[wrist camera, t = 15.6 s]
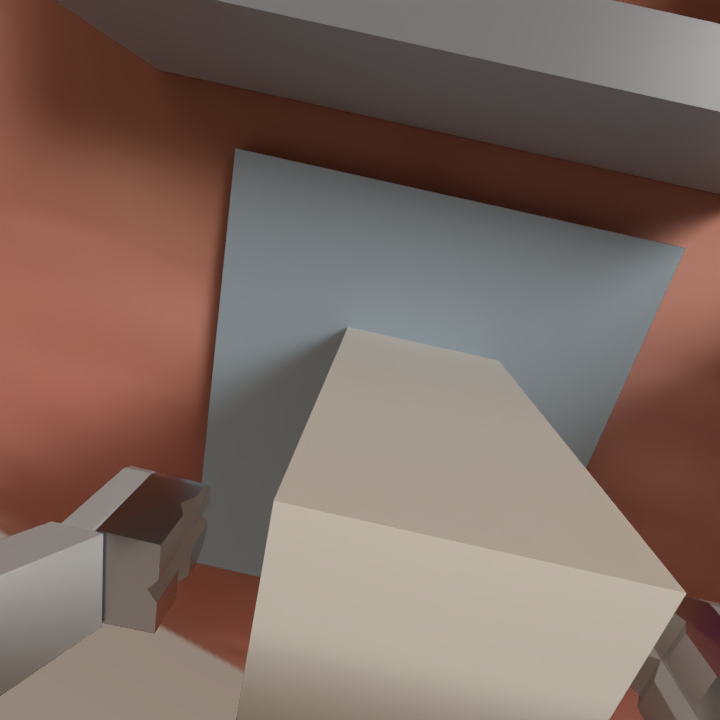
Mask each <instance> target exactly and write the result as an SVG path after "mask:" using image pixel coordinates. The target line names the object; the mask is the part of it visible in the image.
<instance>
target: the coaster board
mask: <svg viewBox="0 0 720 720" xmlns="http://www.w3.org/2000/svg"><path fill="white" fill-rule="evenodd" d="M684 251H685V248H683V247H678V246H674V245H669V244H664V243H660V242H655V241H651V240H646V239H642V238H637V237H633V236H628V235H624V234H619V233H615V232H610V231H606V230H601V229H597V228H592V227H588V226H583V225H579V224H574V223H570V222H565V221H561V220H556V219H552V218H547V217H543V216H538V215H534V214H529V213H525V212H520V211H516V210H511V209H507V208H502V207H498V206H493V205H489V204H484V203H480V202H475V201H471V200H466V199H462V198H457V197H453V196H448V195H444V194H439V193H435V192H430V191H426V190H421V189H417V188H412V187H408V186H403V185H399V184H394V183H390V182H385V181H381V180H376V179H372V178H367V177H363V176H358V175H354V174H349V173H345V172H340V171H336V170H331V169H327V168H322V167H318V166H313V165H309V164H304V163H300V162H295V161H291V160H286V159H282V158H277V157H273V156H268V155H264V154H259V153H255V152H250V151H246V150H241V149H237V148H235V156H234V166H233V176H232V186H231V196H230V206H229V216H228V226H227V236H226V245H225V255H224V265H223V275H222V285H221V295H220V305H219V315H218V325H217V334H216V344H215V354H214V364H213V374H212V384H211V394H210V404H209V413H208V423H207V433H206V443H205V453H204V463H203V473H202V483H203V484H207V485H209V487H210V488H211V493H210V504H209V505H208V507H207V508H206V510H205V511H204V513H203V514H202V515H203V516H204V518H205V520H206V521H207V530H206V536H205V540H204V544H203V547H202V550H201V552H200V555H199V557H198V560H197V562H196V563H200V564H204V565H208V566H213V567H217V568H222V569H226V570H231V571H235V572H240V573H244V574H248V575H253V576H257V577H261V572H262V566H263V560H264V554H265V548H266V543H267V537H268V531H269V525H270V519H271V513H272V507H273V502H274V499H275V496H276V494H277V492H278V489H279V487H280V485H281V482H282V480H283V478H284V475H285V473H286V471H287V468H288V466H289V464H290V461H291V459H292V457H293V454H294V452H295V450H296V447H297V445H298V443H299V440H300V438H301V436H302V433H303V431H304V429H305V426H306V424H307V422H308V419H309V417H310V415H311V412H312V410H313V408H314V405H315V403H316V401H317V398H318V396H319V394H320V391H321V389H322V387H323V384H324V382H325V379H326V377H327V375H328V372H329V370H330V368H331V365H332V363H333V361H334V358H335V356H336V354H337V351H338V349H339V347H340V344H341V342H342V340H343V337H344V335H345V333H346V330H347V328H348V327H350V328H355V329H359V330H364V331H368V332H373V333H377V334H382V335H386V336H391V337H395V338H400V339H404V340H409V341H413V342H418V343H422V344H427V345H431V346H436V347H440V348H444V349H449V350H453V351H458V352H462V353H467V354H471V355H476V356H480V357H485V358H489V359H494V360H498V361H500V363H501V364H502V365H503V366H504V368H505V369H506V370H507V371H508V373H509V374H510V375H511V376H512V378H513V379H514V380H515V381H516V383H517V384H518V385H519V386H520V387H521V389H522V390H523V391H524V392H525V394H526V395H527V396H528V397H529V399H530V400H531V401H532V402H533V404H534V405H535V406H536V407H537V409H538V410H539V411H540V412H541V413H542V415H543V416H544V417H545V418H546V420H547V421H548V422H549V423H550V425H551V426H552V427H553V428H554V430H555V431H556V432H557V433H558V435H559V436H560V437H561V438H562V440H563V441H564V442H565V443H566V444H567V446H568V447H569V448H570V449H571V451H572V452H573V453H574V454H575V456H576V457H577V458H578V459H579V461H580V462H581V463H582V464H583V466H584V467H585V468H587V466H588V463H589V461H590V459H591V457H592V455H593V452H594V450H595V448H596V446H597V444H598V441H599V439H600V437H601V435H602V432H603V430H604V428H605V426H606V424H607V421H608V419H609V417H610V415H611V412H612V410H613V408H614V406H615V404H616V401H617V399H618V397H619V395H620V393H621V390H622V388H623V386H624V384H625V381H626V379H627V377H628V375H629V373H630V370H631V368H632V366H633V364H634V361H635V359H636V357H637V355H638V353H639V350H640V348H641V346H642V344H643V341H644V339H645V337H646V335H647V333H648V330H649V328H650V326H651V324H652V322H653V319H654V317H655V315H656V313H657V310H658V308H659V306H660V304H661V302H662V299H663V297H664V295H665V293H666V290H667V288H668V286H669V284H670V282H671V279H672V277H673V275H674V273H675V271H676V268H677V266H678V264H679V262H680V259H681V257H682V255H683V253H684Z"/></svg>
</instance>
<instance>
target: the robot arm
mask: <svg viewBox="0 0 720 720" xmlns="http://www.w3.org/2000/svg"><path fill="white" fill-rule="evenodd" d="M210 493H211V488H210V487H209V485H207V484H203V483H200V482H196V481H192V480H188V479H184V478H180V477H176V476H173V475H169V474H165V473H161V472H155V471H152V470H148V469H144V468H140V467H136V466H128V467H125V468H123V469H122V470H121V471H119V472H118V473H117V474H116V475H115V476H114V477H113V478H112V479H110V480H109V481H108V482H107V483H106V484H105V485H104V486H102V487H101V488H100V489H99V490H98V491H97V492H96V493H95V494H93V495H92V496H91V497H90V498H89V499H88V500H87V501H85V502H84V503H83V504H82V505H81V506H80V507H79V508H78V509H76V510H75V511H74V512H73V513H72V514H71V515H70V516H69V517H67V518H66V519H65V520H64V521H63V522H62V523H57V522H53V521H51V522H48V523H46V524H43V525H40V526H37V527H34V528H31V529H29V530H26V531H23V532H20V533H17V534H14V535H12V536H9V537H6V538H3V539H0V696H1V695H2V694H4V693H5V692H7V691H8V690H9V689H11V688H13V687H14V686H16V685H17V684H18V683H20V682H21V681H23V680H24V679H26V678H27V677H29V676H30V675H31V674H33V673H34V672H36V671H37V670H39V669H40V668H42V667H43V666H45V665H46V664H48V663H49V662H51V661H52V660H53V659H55V658H56V657H58V656H59V655H61V654H62V653H64V652H65V651H66V650H68V649H69V648H71V647H72V646H74V645H75V644H77V643H78V642H79V641H81V640H82V639H84V638H85V637H87V636H88V635H90V634H91V633H93V632H94V631H96V630H97V629H99V628H100V627H101V626H102V623H106V624H111V625H115V626H120V627H126V628H131V629H135V630H140V631H145V632H150V633H155V632H156V630H157V629H158V627H159V625H160V624H161V622H162V620H163V618H164V617H165V615H166V613H167V612H168V610H169V608H170V607H171V605H172V603H173V602H174V600H175V598H176V592H177V583H178V582H179V581H181V580H183V579H184V578H186V577H188V576H189V575H190V573H191V571H192V569H193V568H194V566H195V564H196V562H197V560H198V557H199V555H200V552H201V550H202V547H203V544H204V540H205V536H206V530H207V521H206V520H205V518H204V516H203V515H202V514H203V513H204V511H205V510H206V508H207V507H208V505H209V504H210ZM630 686H631V687H632V688H633V689H634V690H635V691H636V692H637V693H638V694H639V699H638V709H639V711H640V713H641V715H642V717H643V719H644V720H720V603H717V602H712V601H707V600H702V599H694V598H690V597H686V596H685V597H684V598H683V600H682V602H681V603H680V605H679V606H678V608H677V610H676V611H675V613H674V615H673V616H672V618H671V620H670V621H669V623H668V624H667V626H666V628H665V629H664V631H663V633H662V634H661V636H660V637H659V639H658V641H657V642H656V644H655V646H654V647H653V649H652V651H651V652H650V654H649V655H648V657H647V659H646V660H645V662H644V664H643V665H642V667H641V669H640V670H639V672H638V673H637V675H636V677H635V678H634V680H633V682H632V683H631V685H630Z"/></svg>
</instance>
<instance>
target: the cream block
mask: <svg viewBox="0 0 720 720" xmlns="http://www.w3.org/2000/svg"><path fill="white" fill-rule="evenodd" d="M685 595H686V592H685V591H684V589H683V588H682V587H681V586H680V585H679V583H678V582H677V581H676V580H675V578H674V577H673V576H672V575H671V573H670V572H669V571H668V570H667V568H666V567H665V566H664V565H663V563H662V562H661V561H660V560H659V559H658V557H657V556H656V555H655V554H654V552H653V551H652V550H651V549H650V547H649V546H648V545H647V544H646V542H645V541H644V540H643V539H642V537H641V536H640V535H639V534H638V532H637V531H636V530H635V529H634V528H633V526H632V525H631V524H630V523H629V521H628V520H627V519H626V518H625V516H624V515H623V514H622V513H621V511H620V510H619V509H618V508H617V506H616V505H615V504H614V503H613V501H612V500H611V499H610V498H609V497H608V495H607V494H606V493H605V492H604V490H603V489H602V488H601V487H600V485H599V484H598V483H597V482H596V480H595V479H594V478H593V477H592V475H591V474H590V473H589V472H588V471H587V469H586V468H585V467H584V466H583V464H582V463H581V462H580V461H579V459H578V458H577V457H576V456H575V454H574V453H573V452H572V451H571V449H570V448H569V447H568V446H567V444H566V443H565V442H564V441H563V440H562V438H561V437H560V436H559V435H558V433H557V432H556V431H555V430H554V428H553V427H552V426H551V425H550V423H549V422H548V421H547V420H546V418H545V417H544V416H543V415H542V413H541V412H540V411H539V410H538V409H537V407H536V406H535V405H534V404H533V402H532V401H531V400H530V399H529V397H528V396H527V395H526V394H525V392H524V391H523V390H522V389H521V387H520V386H519V385H518V384H517V383H516V381H515V380H514V379H513V378H512V376H511V375H510V374H509V373H508V371H507V370H506V369H505V368H504V366H503V365H502V364H501V363H500V361H498V360H494V359H489V358H485V357H480V356H476V355H471V354H467V353H462V352H458V351H453V350H449V349H444V348H440V347H436V346H431V345H427V344H422V343H418V342H413V341H409V340H404V339H400V338H395V337H391V336H386V335H382V334H377V333H373V332H368V331H364V330H359V329H355V328H350V327H348V328H347V330H346V333H345V335H344V337H343V340H342V342H341V344H340V347H339V349H338V351H337V354H336V356H335V358H334V361H333V363H332V365H331V368H330V370H329V372H328V375H327V377H326V379H325V382H324V384H323V387H322V389H321V391H320V394H319V396H318V398H317V401H316V403H315V405H314V408H313V410H312V412H311V415H310V417H309V419H308V422H307V424H306V426H305V429H304V431H303V433H302V436H301V438H300V440H299V443H298V445H297V447H296V450H295V452H294V454H293V457H292V459H291V461H290V464H289V466H288V468H287V471H286V473H285V475H284V478H283V480H282V482H281V485H280V487H279V489H278V492H277V494H276V496H275V499H274V502H273V507H272V513H271V519H270V525H269V531H268V537H267V543H266V548H265V554H264V560H263V566H262V572H261V578H260V584H259V589H258V595H257V601H256V607H255V613H254V619H253V625H252V630H251V636H250V642H249V648H248V654H247V660H246V666H245V671H244V677H243V683H242V689H241V695H240V701H239V707H238V713H237V718H236V720H609V719H610V718H611V716H612V714H613V713H614V711H615V709H616V708H617V706H618V704H619V703H620V701H621V700H622V698H623V696H624V695H625V693H626V691H627V690H628V688H629V687H630V685H631V683H632V682H633V680H634V678H635V677H636V675H637V673H638V672H639V670H640V669H641V667H642V665H643V664H644V662H645V660H646V659H647V657H648V655H649V654H650V652H651V651H652V649H653V647H654V646H655V644H656V642H657V641H658V639H659V637H660V636H661V634H662V633H663V631H664V629H665V628H666V626H667V624H668V623H669V621H670V620H671V618H672V616H673V615H674V613H675V611H676V610H677V608H678V606H679V605H680V603H681V602H682V600H683V598H684V597H685Z"/></svg>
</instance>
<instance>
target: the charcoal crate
mask: <svg viewBox="0 0 720 720" xmlns="http://www.w3.org/2000/svg"><path fill="white" fill-rule="evenodd" d="M54 1H56V2H57V3H59V4H60V5H62V6H63V7H65V8H66V9H68V10H69V11H71V12H72V13H74V14H75V15H77V16H78V17H80V18H81V19H83V20H84V21H86V22H87V23H89V24H90V25H91V26H93V27H94V28H96V29H97V30H99V31H100V32H102V33H103V34H105V35H106V36H108V37H109V38H111V39H112V40H114V41H115V42H117V43H118V44H120V45H121V46H123V47H124V48H126V49H127V50H129V51H130V52H132V53H133V54H135V55H136V56H138V57H139V58H141V59H142V60H144V61H145V62H147V63H148V64H149V65H151V66H152V67H154V68H155V69H157V70H161V71H165V72H170V73H175V74H179V75H184V76H188V77H193V78H197V79H202V80H206V81H211V82H215V83H220V84H224V85H229V86H233V87H238V88H242V89H247V90H251V91H256V92H260V93H265V94H269V95H274V96H278V97H283V98H287V99H292V100H296V101H301V102H305V103H310V104H314V105H319V106H323V107H328V108H332V109H337V110H341V111H346V112H350V113H355V114H359V115H364V116H368V117H373V118H377V119H382V120H386V121H391V122H395V123H400V124H405V125H409V126H414V127H418V128H423V129H427V130H432V131H436V132H441V133H445V134H450V135H454V136H459V137H463V138H468V139H472V140H477V141H481V142H486V143H490V144H495V145H499V146H504V147H508V148H513V149H517V150H522V151H526V152H531V153H535V154H540V155H544V156H549V157H553V158H558V159H562V160H567V161H571V162H576V163H580V164H585V165H589V166H594V167H598V168H603V169H607V170H612V171H616V172H621V173H625V174H630V175H635V176H639V177H644V178H648V179H653V180H657V181H662V182H666V183H671V184H675V185H680V186H684V187H689V188H693V189H698V190H702V191H707V192H711V193H716V194H720V24H718V23H714V22H709V21H705V20H700V19H696V18H691V17H687V16H682V15H678V14H673V13H669V12H664V11H660V10H655V9H650V8H646V7H641V6H637V5H632V4H628V3H623V2H619V1H614V0H54Z"/></svg>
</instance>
